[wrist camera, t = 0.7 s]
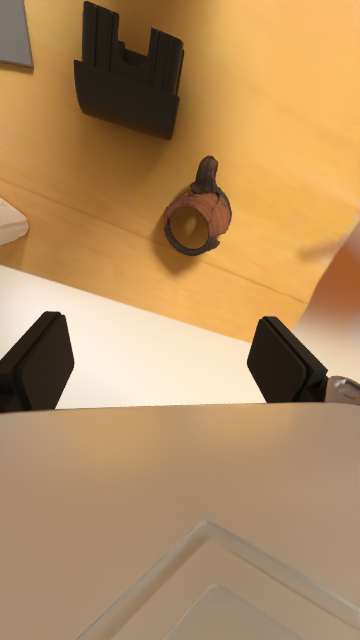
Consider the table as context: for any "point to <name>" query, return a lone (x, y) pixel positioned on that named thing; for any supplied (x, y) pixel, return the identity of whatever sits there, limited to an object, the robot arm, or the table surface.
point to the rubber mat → (14, 34)
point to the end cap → (127, 76)
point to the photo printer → (11, 223)
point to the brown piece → (202, 207)
